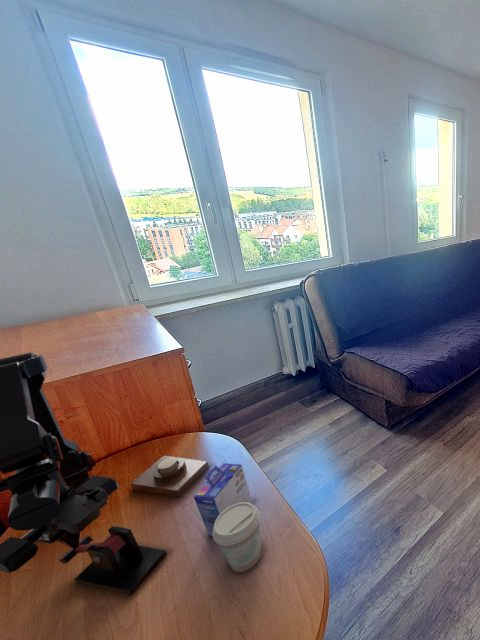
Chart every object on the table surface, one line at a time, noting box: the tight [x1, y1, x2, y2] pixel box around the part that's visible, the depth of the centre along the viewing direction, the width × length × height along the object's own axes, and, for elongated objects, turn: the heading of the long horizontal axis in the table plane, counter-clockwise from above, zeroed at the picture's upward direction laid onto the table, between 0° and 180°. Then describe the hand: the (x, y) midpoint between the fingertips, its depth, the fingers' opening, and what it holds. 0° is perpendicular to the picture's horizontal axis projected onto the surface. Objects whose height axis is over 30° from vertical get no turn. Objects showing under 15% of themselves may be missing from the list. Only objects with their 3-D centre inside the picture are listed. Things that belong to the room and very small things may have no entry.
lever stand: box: [73, 525, 168, 596], centre depth 68 cm, size 13×8×9 cm, turn 81°
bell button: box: [158, 458, 178, 474], centre depth 89 cm, size 4×4×2 cm
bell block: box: [130, 455, 210, 498], centre depth 90 cm, size 14×10×4 cm
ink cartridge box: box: [193, 462, 253, 537], centre depth 77 cm, size 10×6×14 cm, turn 174°
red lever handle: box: [58, 535, 126, 565], centre depth 68 cm, size 13×5×2 cm, turn 81°
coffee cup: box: [212, 502, 262, 573], centre depth 69 cm, size 8×8×12 cm
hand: (74, 546), depth 69 cm, fingers closed, pressing on red lever handle
